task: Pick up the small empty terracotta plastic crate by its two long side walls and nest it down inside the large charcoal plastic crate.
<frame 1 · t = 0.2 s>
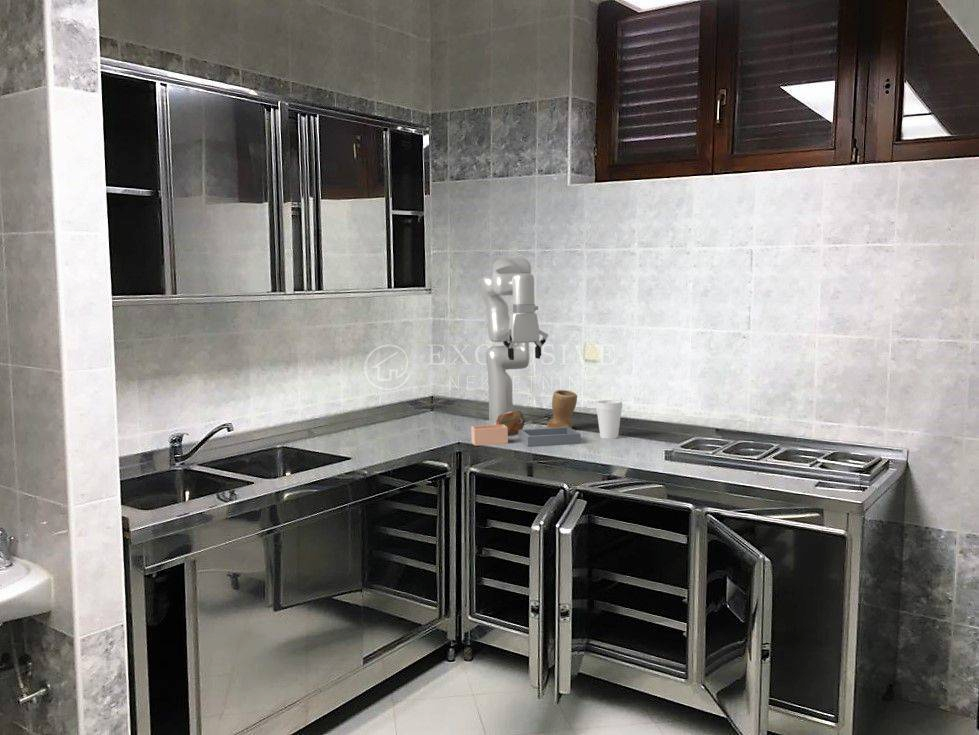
hand: (524, 359, 301), 30 cm above the counter, tool pointing down, fingers open, 9 cm apart
foam cup: (609, 437, 316), on the counter
big crate: (549, 441, 311), on the counter
brown boot: (562, 429, 335), on the counter
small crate: (489, 443, 310), on the counter
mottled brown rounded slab: (510, 434, 327), on the counter
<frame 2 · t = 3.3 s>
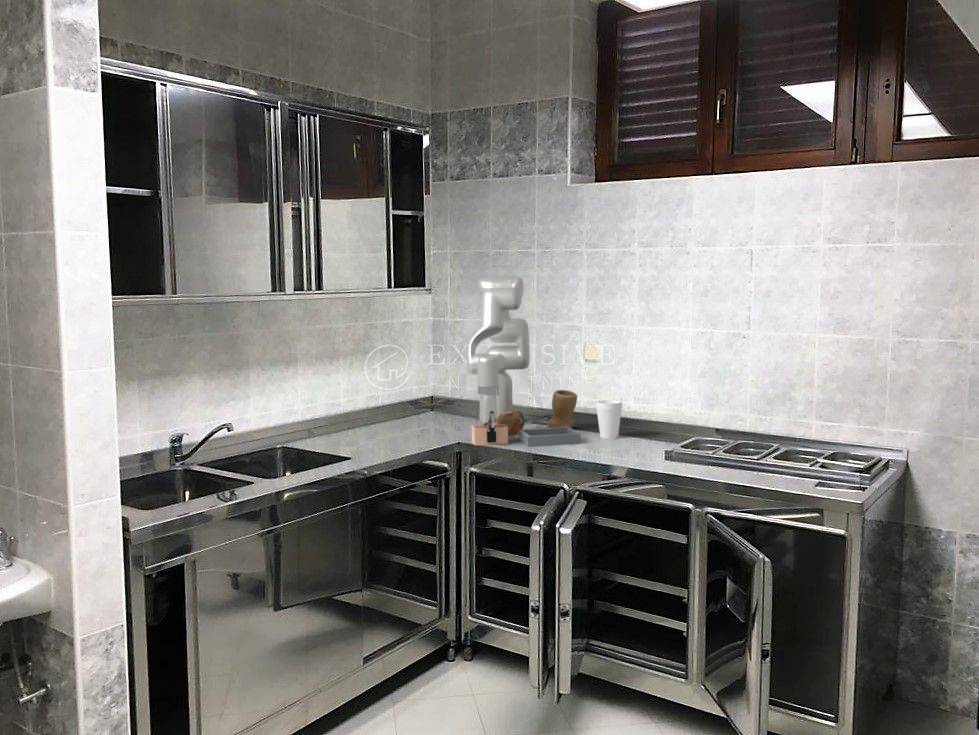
hand: (489, 440, 310), 1 cm above the counter, tool pointing down, fingers closed on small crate, 6 cm apart
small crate: (489, 442, 310), on the counter, touching gripper
everything else where it was.
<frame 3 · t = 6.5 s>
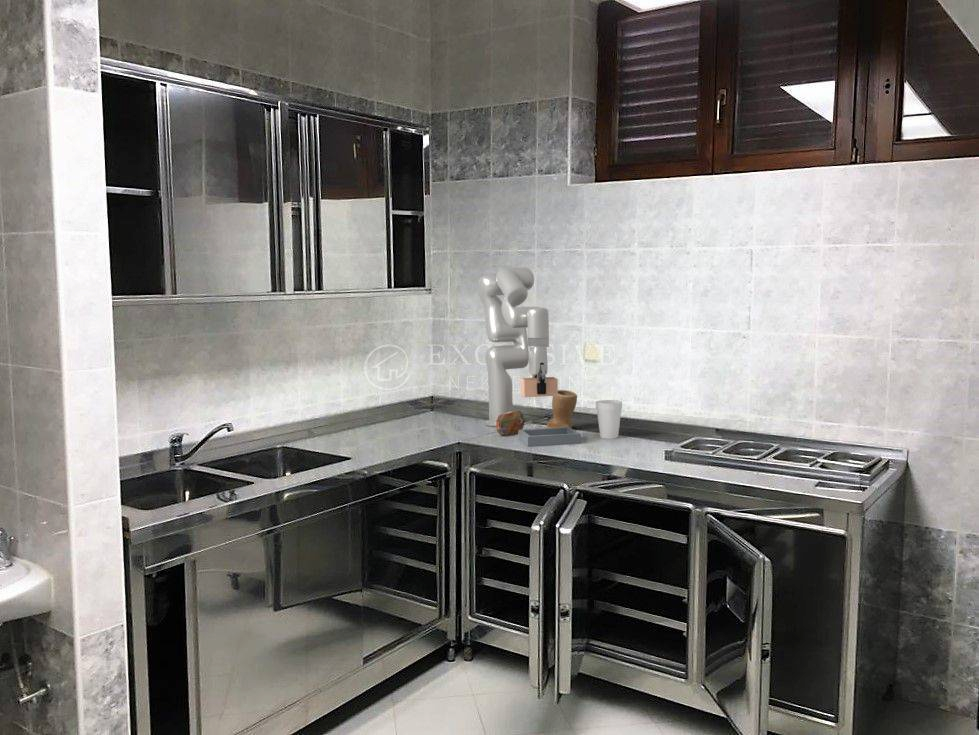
hand: (539, 392, 308), 18 cm above the counter, tool pointing down, fingers closed on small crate, 6 cm apart
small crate: (539, 395, 309), point 17 cm above the counter, touching gripper
everything else where it was.
when the fingers open (3 cm above the counter, at t = 10.1 s): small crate drops 1 cm, resting on big crate.
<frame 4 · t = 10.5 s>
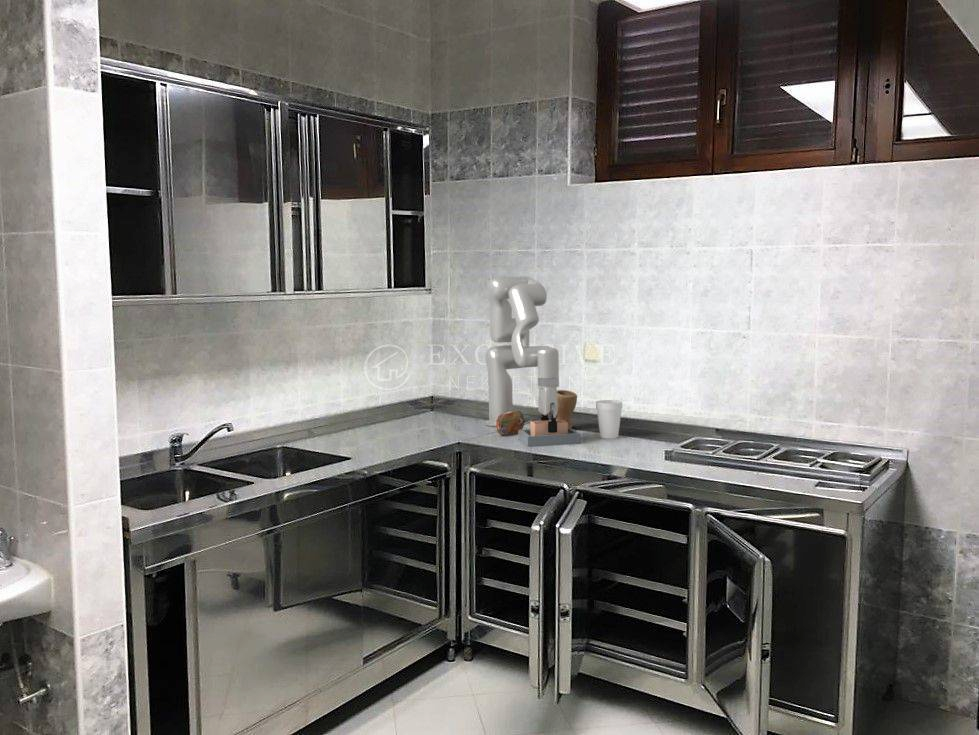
hand: (549, 430, 310), 4 cm above the counter, tool pointing down, fingers open, 9 cm apart
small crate: (549, 438, 310), point 1 cm above the counter, touching big crate
everything else where it was.
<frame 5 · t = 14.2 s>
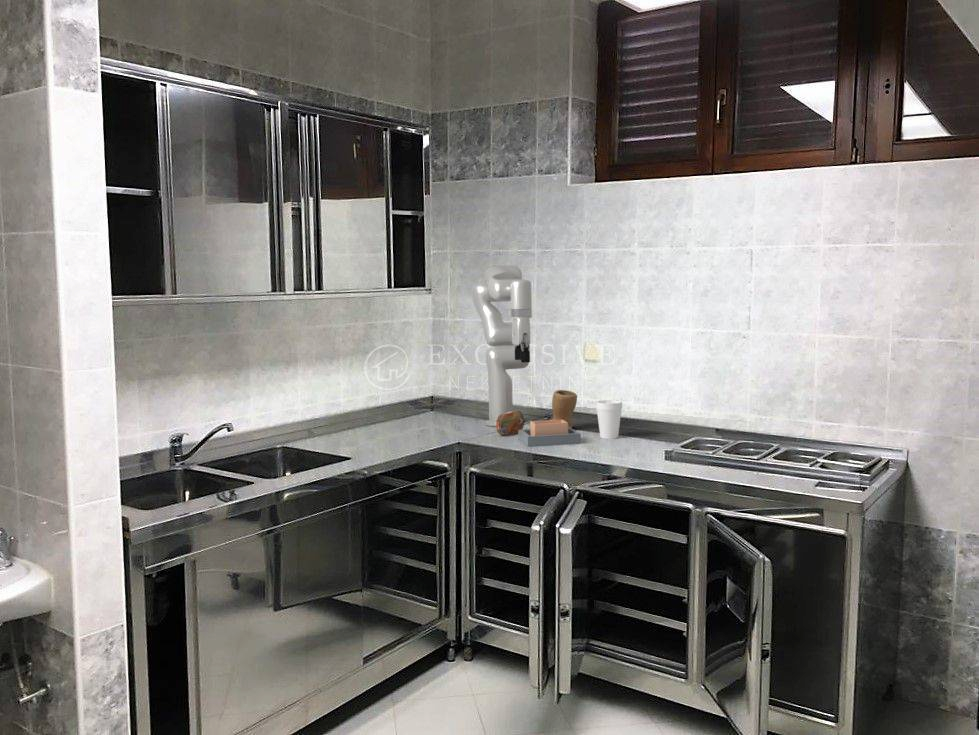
hand: (522, 361, 316), 28 cm above the counter, tool pointing down, fingers open, 9 cm apart
nothing on the counter moved.
at the end: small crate inside the target area on the big crate (0.1 cm from its centre), point 1.0 cm above the big crate's base; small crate tilted 0°; the gripper is holding nothing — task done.
